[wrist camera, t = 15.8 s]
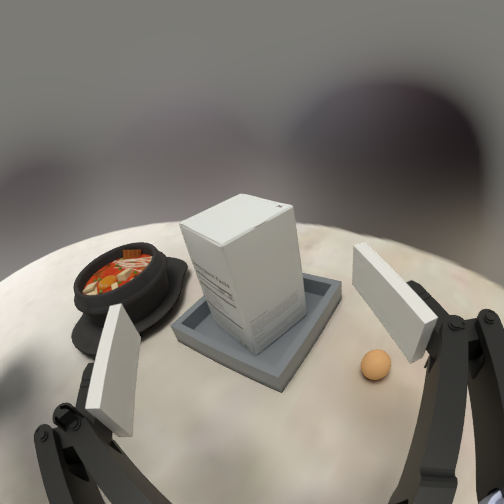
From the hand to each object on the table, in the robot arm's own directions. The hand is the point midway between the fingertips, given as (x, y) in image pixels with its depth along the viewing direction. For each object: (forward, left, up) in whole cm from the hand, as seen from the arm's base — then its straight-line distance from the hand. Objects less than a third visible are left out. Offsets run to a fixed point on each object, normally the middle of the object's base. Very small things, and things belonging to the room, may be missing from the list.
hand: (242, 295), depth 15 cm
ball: (+6, +9, -17) cm, 20 cm away
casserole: (-31, +4, -17) cm, 36 cm away
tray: (-10, +11, -17) cm, 23 cm away
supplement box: (-10, +11, -16) cm, 22 cm away
